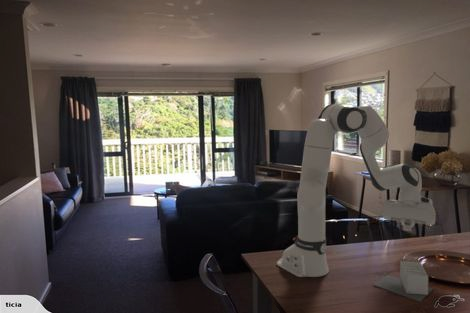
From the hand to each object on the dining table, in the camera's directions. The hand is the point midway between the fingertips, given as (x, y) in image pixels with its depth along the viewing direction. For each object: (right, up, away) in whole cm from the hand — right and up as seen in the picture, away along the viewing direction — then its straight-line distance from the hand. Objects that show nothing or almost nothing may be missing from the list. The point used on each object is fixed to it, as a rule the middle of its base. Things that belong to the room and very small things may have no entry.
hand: (407, 230), depth 149 cm
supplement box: (-3, -14, -7) cm, 16 cm away
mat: (-8, -19, -13) cm, 25 cm away
